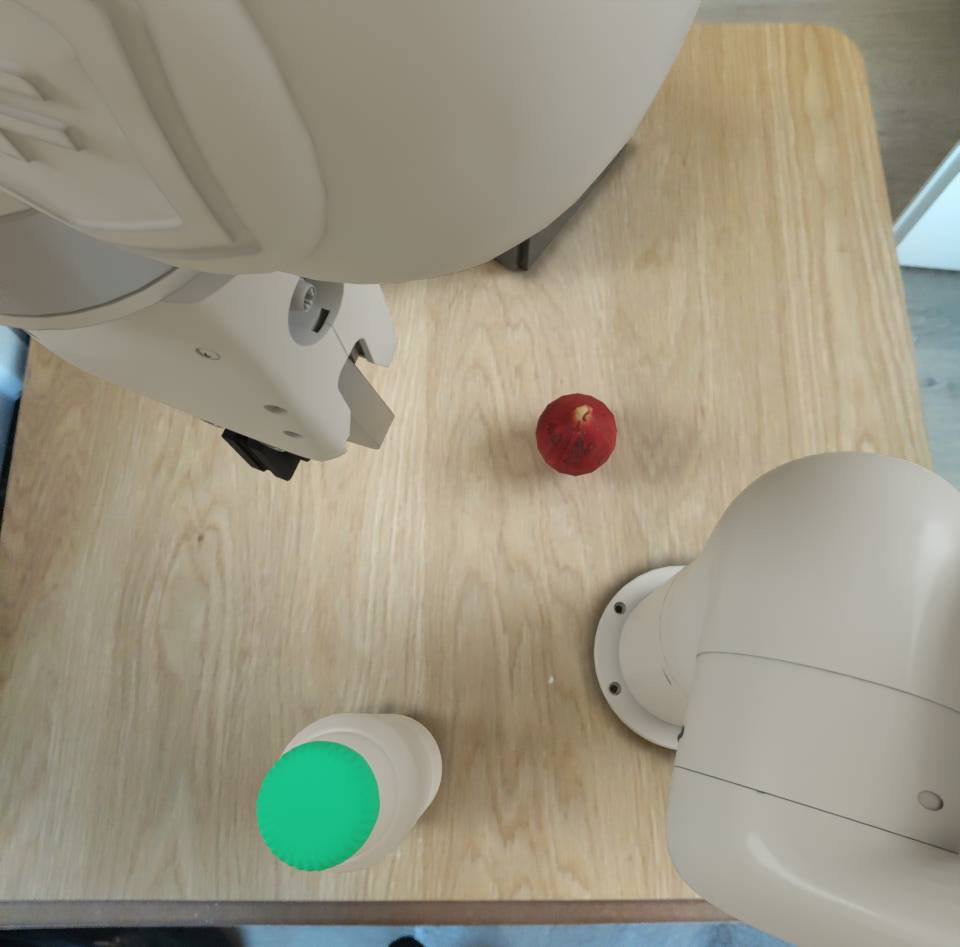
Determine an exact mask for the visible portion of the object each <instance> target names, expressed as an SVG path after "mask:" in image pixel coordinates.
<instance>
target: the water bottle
mask: <svg viewBox="0 0 960 947" xmlns="http://www.w3.org/2000/svg"><path fill="white" fill-rule="evenodd" d="M442 776H443V761H442V755H441V750H440V748H439V745H438V743H437V741H436V740H435V737H434V736H433V734H432V733H431V732H430V731H429V730H428V728H427V727H425V726H424V725H423V724H422V723H421V722H419V721H418V720H416V719H414V718H412V717H410V716H407V715H404V714H398V713H370V712H369V713H360V712H339V713H334V714H331V715H327V716H323V717H322V718H319V719H316V720H315V721H313V722H311V723H310V724H308V725H307V726H305V727H304V728H303V729H301V730H300V731H299V732H298V733H297V734H296V735H295V736H294V737H293V738H292V739H291V740H290V741H289V742H288V744H287V745H286V746H285V748H284V750H283V751H282V752H281V755H280V757H279V759H277V760H276V761H275V762H274V763H273V765H272V767H271V768H270V769H269V770H268V771H267V773H266V776H265V777H264V779H262V782H261V786H260V788H259V790H258V797H257V799H256V801H255V806H256V811H255V816H256V818H257V827H258V829H259V831H260V832H259V833H260V834H259V835H260V837H262V839H263V841H264V845H265V846H266V847H267V848H268V849H269V850H270V853H271V854H272V855H274V856H276V857H277V859H278V860H279V861H280V862H283V863H285V864H286V865H287V866H288V867H293V868H295V869H296V870H298V871H306V872H308V873H311V872H322V871H323V872H327V873H333V874H349V873H356V872H361V871H363V870H367V869H369V868H371V867H373V866H376V865H377V864H379V863H381V862H382V861H384V860H385V859H387V858H388V857H390V855H392V854H393V853H394V852H395V851H396V850H397V849H398V848H399V847H400V846H401V845H402V843H403V842H404V841H405V839H406V838H407V837H408V835H409V833H410V831H411V830H412V829H413V828H414V826H415V825H416V823H418V821H419V820H420V818H421V817H422V815H423V814H424V813H425V812H426V810H427V809H428V808H429V806H430V805H431V804H432V802H434V799H435V798H436V796H437V793H438V791H439V789H440V786H441V785H440V784H441V782H442Z"/></svg>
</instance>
